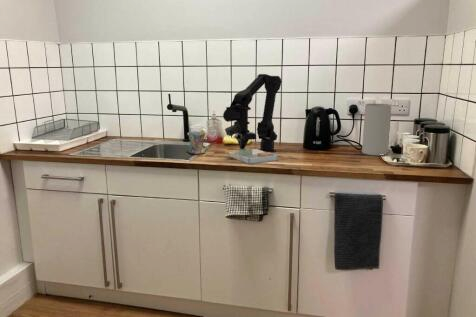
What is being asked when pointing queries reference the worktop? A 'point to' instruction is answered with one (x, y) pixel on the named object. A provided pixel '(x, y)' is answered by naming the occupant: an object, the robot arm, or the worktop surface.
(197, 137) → the mug
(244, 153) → the sage tile
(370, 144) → the cylinder vase
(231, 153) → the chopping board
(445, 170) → the worktop surface
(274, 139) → the robot arm
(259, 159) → the tray
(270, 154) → the terracotta tile
